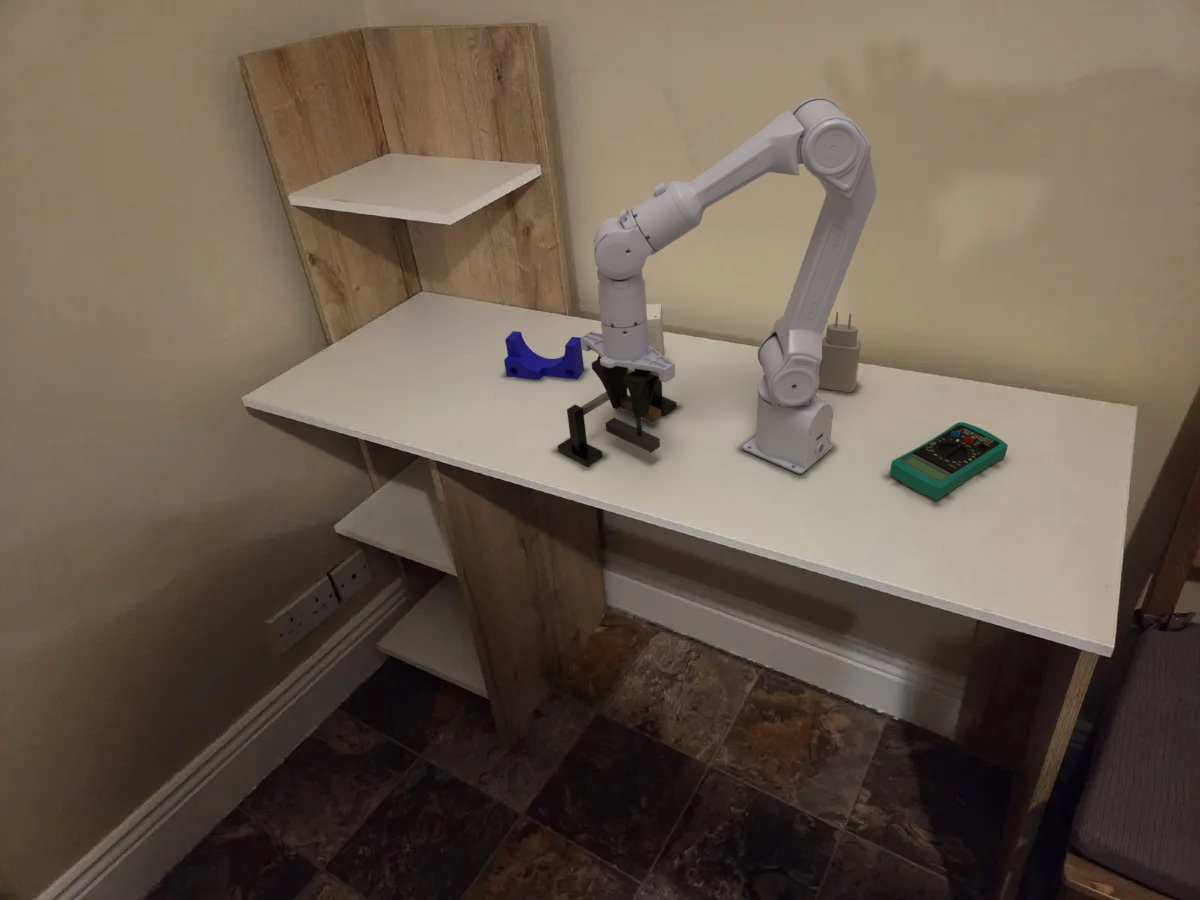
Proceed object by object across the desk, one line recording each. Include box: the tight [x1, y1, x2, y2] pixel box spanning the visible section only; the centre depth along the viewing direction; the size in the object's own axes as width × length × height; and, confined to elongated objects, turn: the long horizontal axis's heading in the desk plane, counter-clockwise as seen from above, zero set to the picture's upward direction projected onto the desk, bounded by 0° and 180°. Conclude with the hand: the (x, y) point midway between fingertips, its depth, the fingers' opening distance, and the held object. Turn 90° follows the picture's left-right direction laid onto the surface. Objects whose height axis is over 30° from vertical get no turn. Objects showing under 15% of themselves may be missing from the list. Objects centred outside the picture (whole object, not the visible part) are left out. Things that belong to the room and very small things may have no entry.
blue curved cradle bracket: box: [503, 330, 585, 381], centre depth 131 cm, size 12×4×6 cm, turn 70°
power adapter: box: [818, 311, 862, 393], centre depth 119 cm, size 3×5×12 cm, turn 65°
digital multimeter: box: [889, 421, 1009, 500], centre depth 103 cm, size 7×15×3 cm, turn 125°
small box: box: [628, 303, 666, 371], centre depth 128 cm, size 8×6×10 cm
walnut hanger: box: [623, 369, 662, 424], centre depth 117 cm, size 8×2×7 cm, turn 45°
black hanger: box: [604, 394, 661, 454], centre depth 108 cm, size 8×2×7 cm, turn 46°
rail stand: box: [557, 380, 678, 468], centre depth 115 cm, size 6×19×8 cm, turn 136°
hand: (630, 410), depth 107 cm, fingers closed on black hanger, 3 cm apart
